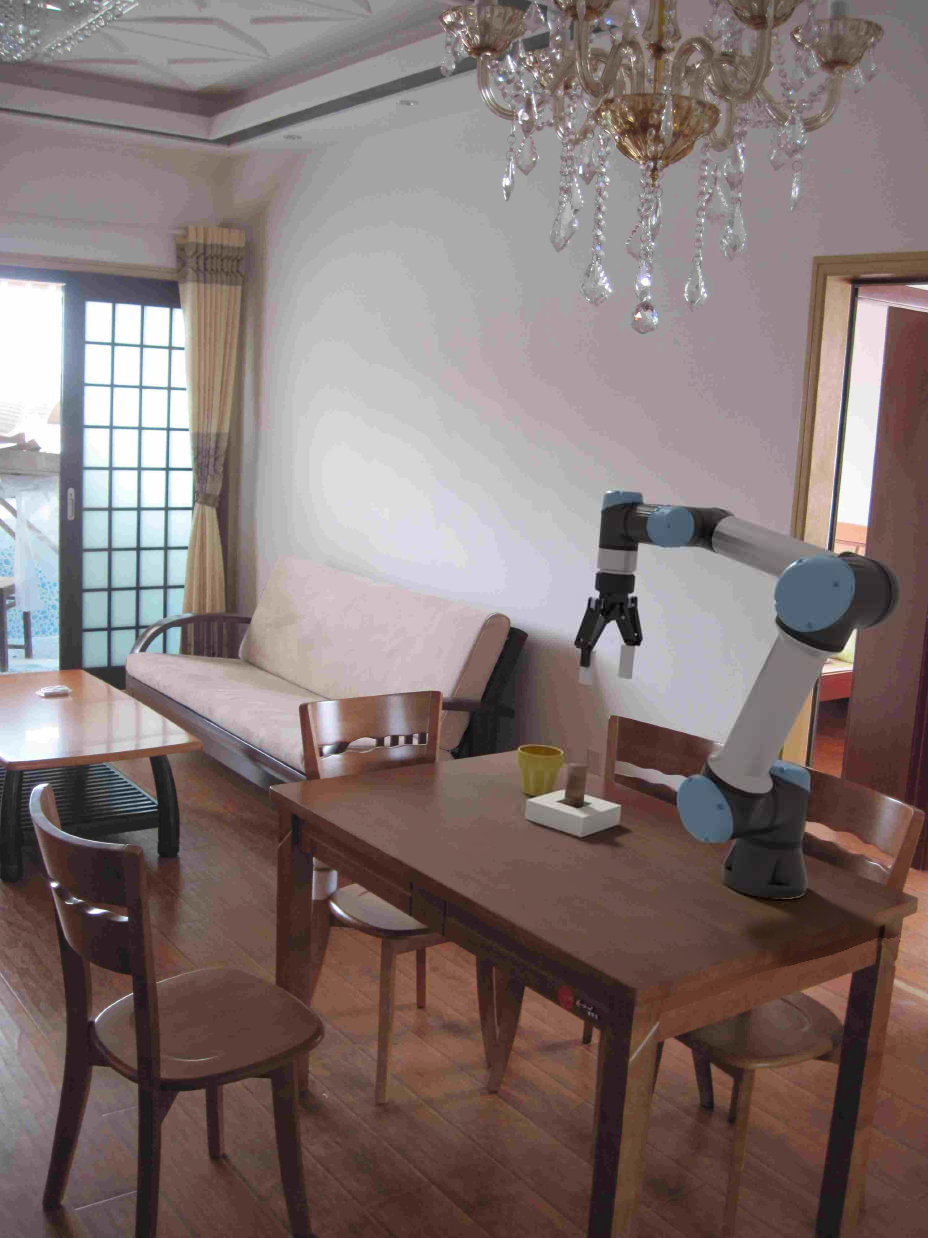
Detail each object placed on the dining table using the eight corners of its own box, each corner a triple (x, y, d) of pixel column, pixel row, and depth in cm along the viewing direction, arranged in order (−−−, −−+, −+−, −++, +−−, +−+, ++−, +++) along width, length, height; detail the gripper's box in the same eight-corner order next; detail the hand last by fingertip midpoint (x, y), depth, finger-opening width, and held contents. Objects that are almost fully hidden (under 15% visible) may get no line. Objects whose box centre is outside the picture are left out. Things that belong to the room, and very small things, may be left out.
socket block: (619, 824, 238) (621, 805, 237) (580, 837, 227) (583, 817, 227) (563, 806, 247) (565, 788, 246) (524, 818, 236) (526, 799, 235)
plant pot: (505, 787, 258) (509, 744, 257) (545, 785, 262) (550, 743, 261) (527, 800, 249) (531, 756, 247) (568, 798, 253) (573, 755, 252)
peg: (585, 822, 237) (591, 766, 235) (574, 826, 234) (580, 768, 232) (569, 817, 240) (575, 761, 238) (558, 820, 237) (564, 764, 235)
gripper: (634, 568, 232) (624, 672, 234) (561, 570, 213) (551, 683, 215) (666, 572, 227) (656, 678, 229) (595, 574, 208) (584, 690, 210)
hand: (605, 681), depth 222 cm, fingers open, 13 cm apart
